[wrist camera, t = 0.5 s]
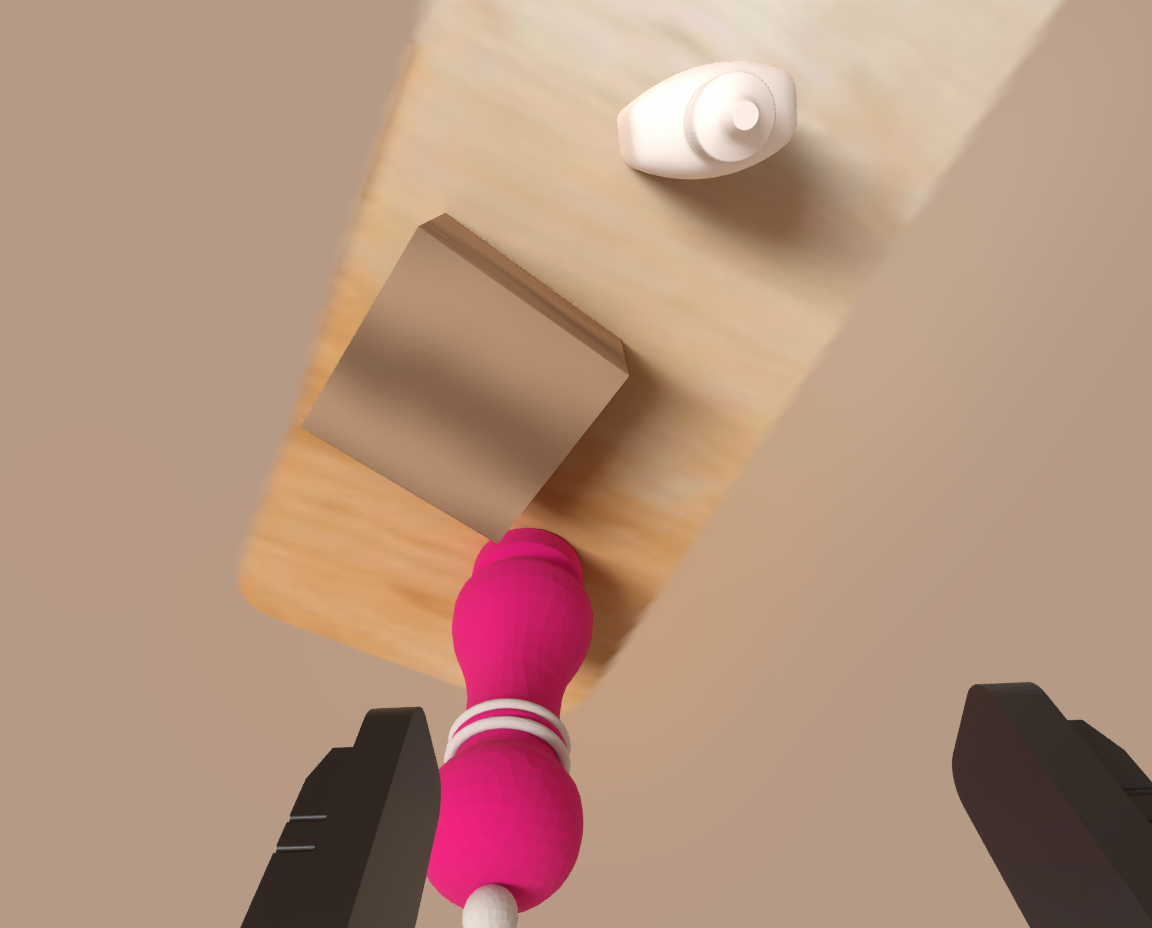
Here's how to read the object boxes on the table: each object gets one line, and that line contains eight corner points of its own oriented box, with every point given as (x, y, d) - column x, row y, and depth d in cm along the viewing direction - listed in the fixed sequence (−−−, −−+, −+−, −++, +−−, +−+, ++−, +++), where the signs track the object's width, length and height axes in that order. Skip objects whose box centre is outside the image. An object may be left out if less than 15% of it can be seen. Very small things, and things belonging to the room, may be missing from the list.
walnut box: (446, 212, 31) (418, 226, 25) (620, 338, 33) (629, 375, 28) (344, 382, 34) (300, 427, 29) (509, 485, 37) (497, 543, 31)
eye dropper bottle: (720, 202, 30) (802, 232, 19) (603, 157, 29) (620, 162, 19) (763, 97, 29) (878, 67, 18) (640, 47, 28) (681, -18, 17)
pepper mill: (616, 564, 39) (652, 933, 20) (541, 643, 41) (514, 1035, 23) (514, 495, 37) (453, 835, 19) (441, 582, 39) (325, 958, 21)
